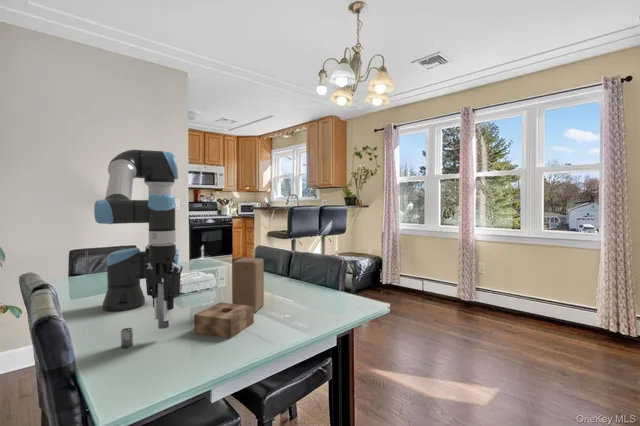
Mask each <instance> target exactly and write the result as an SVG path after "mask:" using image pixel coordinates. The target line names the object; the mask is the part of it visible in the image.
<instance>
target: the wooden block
mask: <svg viewBox="0 0 640 426" xmlns="http://www.w3.org/2000/svg"><path fill="white" fill-rule="evenodd" d="M264 261H265V260H264V259H263V258H262V257H261V258H258V257H257V258H256V257H241V258H238V259H236V260H233V261H232V263H231V288H232V289H231V294H232V295H231V296H232V297H231V298H232V299H231V300H232V301H231V304H238V305H246V306H254V313H256V312H257V311H259V310H260V309H261V308H262V307H263V306H264V305H265V294H264V293H265V291H264V289H265V286H264V285H265V282H264V281H265V278H264V276H265V273H264V272H265V271H264V269H265V266H264V265H265V264H264V263H265V262H264Z"/></svg>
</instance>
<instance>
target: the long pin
mask: <svg viewBox="0 0 640 426" xmlns="http://www.w3.org/2000/svg"><path fill="white" fill-rule="evenodd" d="M165 298H166V297H165V289H164V282H163V281H162V282H158V319H157V328H158V329H161V330H164V329H167V328H169V327H170V326H169V325H170V323H169V320H167V321H164V299H165Z"/></svg>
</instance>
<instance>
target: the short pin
mask: <svg viewBox="0 0 640 426" xmlns="http://www.w3.org/2000/svg"><path fill="white" fill-rule="evenodd" d="M133 341H134V340H133V328H132V327H126V328H122V329H121V330H120V348H121V349H125V350H126V349H130V348H132V347H133V346H134V342H133Z"/></svg>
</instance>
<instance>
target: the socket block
mask: <svg viewBox="0 0 640 426" xmlns="http://www.w3.org/2000/svg"><path fill="white" fill-rule="evenodd" d="M254 315H255V312H254V306H246V305H238V304H232V303H229V302H218V303H216V304H214V305H212V306H209V307H207V308H205V309H203V310H201V311H200V312H197V313H195V314H194V318H193V319H194V320H193V321H194V326H193V327H194V333H195V334H201V335H207V336H215V337H219V338H226V339H232V338H234V337H235V336H236V335H238V334H239V333H241V332H242V331H244V330H246V329H247V328H248V327H250V326H251V325H253V324H254V323H255V318H254Z"/></svg>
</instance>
